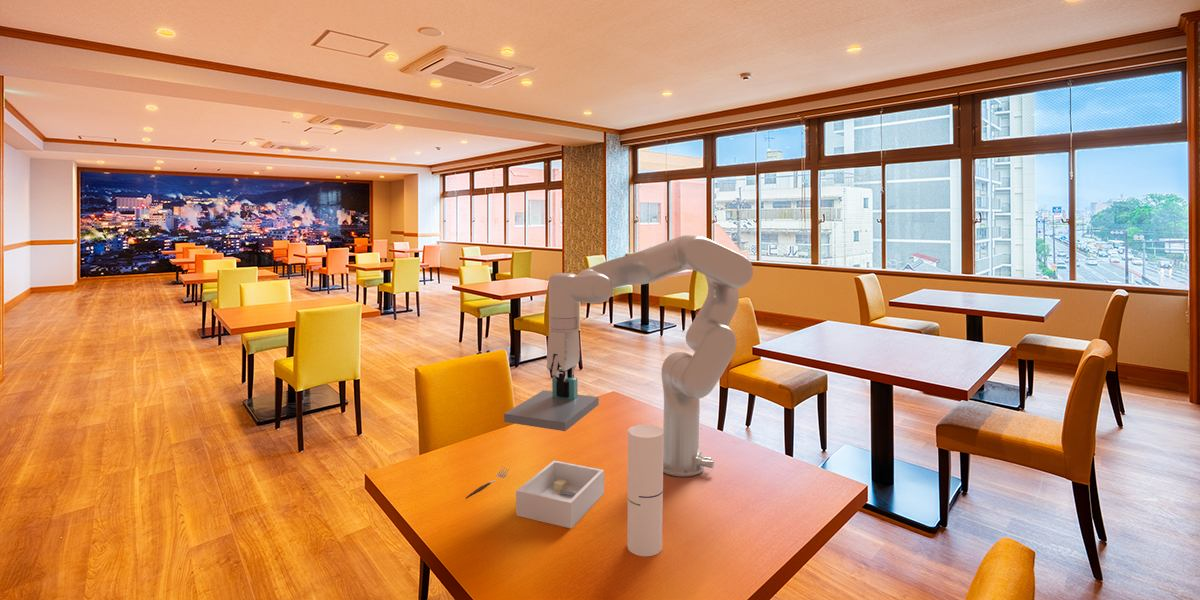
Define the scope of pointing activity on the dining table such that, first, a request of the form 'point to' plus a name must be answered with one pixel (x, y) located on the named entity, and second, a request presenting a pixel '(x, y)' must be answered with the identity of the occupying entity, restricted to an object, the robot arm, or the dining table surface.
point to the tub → (560, 493)
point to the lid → (553, 408)
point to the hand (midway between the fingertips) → (565, 394)
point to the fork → (488, 483)
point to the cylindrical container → (645, 489)
